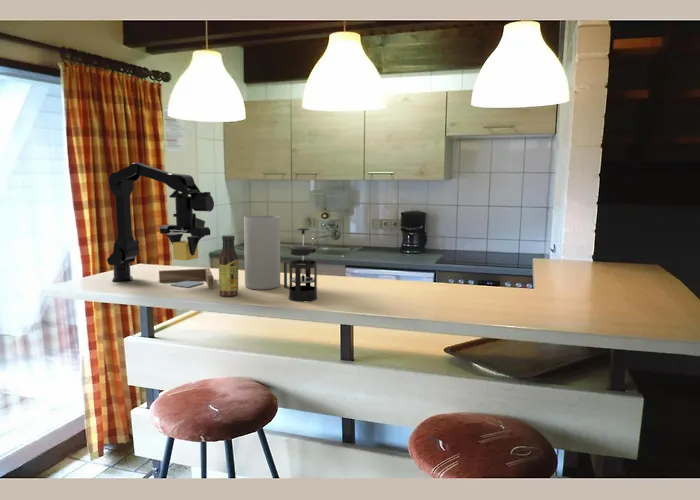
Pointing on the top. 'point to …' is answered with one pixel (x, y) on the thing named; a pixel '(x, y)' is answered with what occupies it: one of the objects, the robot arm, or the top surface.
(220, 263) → the sauce bottle
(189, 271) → the corner arena
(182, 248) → the ochre cube
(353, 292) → the top surface
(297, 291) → the french press
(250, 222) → the cylinder vase
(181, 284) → the pad
